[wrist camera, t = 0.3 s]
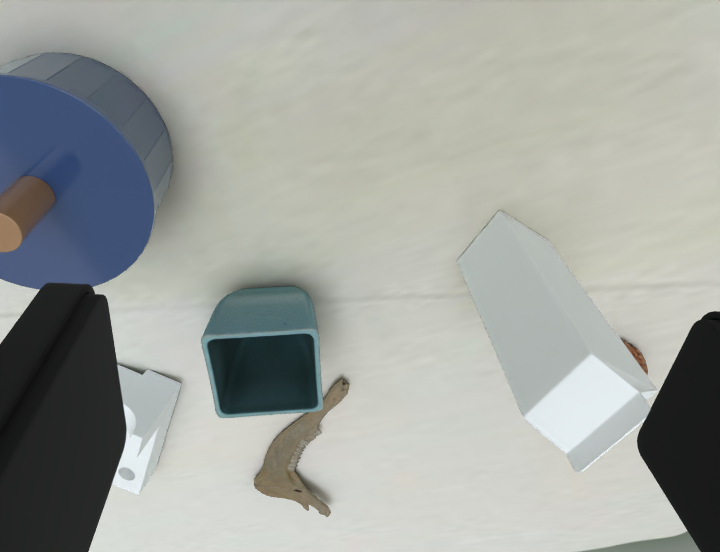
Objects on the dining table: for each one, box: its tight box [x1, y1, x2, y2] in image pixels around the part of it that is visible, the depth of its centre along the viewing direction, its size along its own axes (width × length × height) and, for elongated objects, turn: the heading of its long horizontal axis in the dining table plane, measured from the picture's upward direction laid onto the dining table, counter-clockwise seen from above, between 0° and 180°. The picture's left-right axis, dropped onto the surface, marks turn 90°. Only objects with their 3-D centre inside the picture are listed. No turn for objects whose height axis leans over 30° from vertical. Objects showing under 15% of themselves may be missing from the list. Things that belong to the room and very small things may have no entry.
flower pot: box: [201, 286, 323, 418], centre depth 49 cm, size 9×9×9 cm
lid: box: [0, 73, 156, 289], centre depth 34 cm, size 15×15×6 cm
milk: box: [457, 211, 658, 473], centre depth 42 cm, size 6×6×22 cm
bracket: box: [112, 364, 181, 495], centre depth 55 cm, size 13×7×8 cm, turn 159°
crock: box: [0, 53, 173, 210], centre depth 40 cm, size 14×14×8 cm
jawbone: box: [254, 379, 349, 517], centre depth 61 cm, size 9×20×2 cm, turn 173°
